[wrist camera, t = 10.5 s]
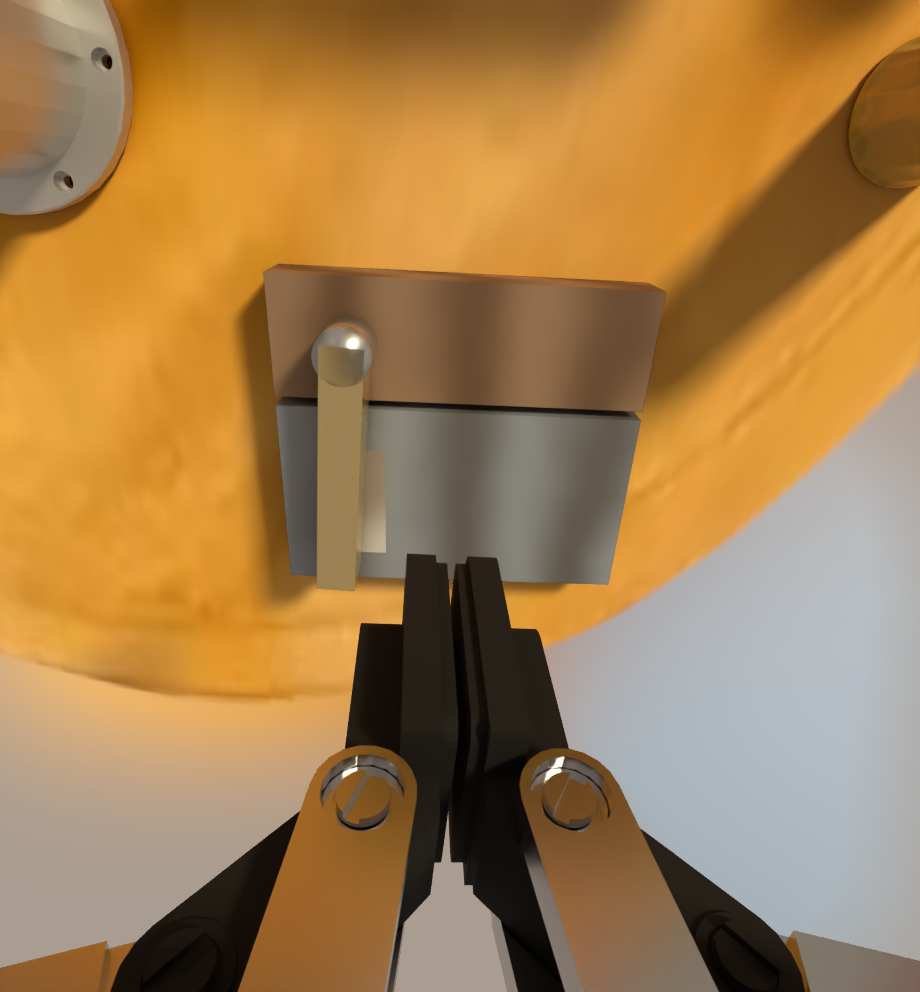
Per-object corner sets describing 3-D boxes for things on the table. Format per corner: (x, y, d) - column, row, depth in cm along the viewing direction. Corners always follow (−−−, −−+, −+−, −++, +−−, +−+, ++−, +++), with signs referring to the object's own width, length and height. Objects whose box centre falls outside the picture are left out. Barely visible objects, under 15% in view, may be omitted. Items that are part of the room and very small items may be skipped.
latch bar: (323, 312, 29) (311, 325, 26) (379, 318, 29) (371, 332, 26) (321, 556, 35) (311, 587, 32) (366, 560, 35) (360, 591, 33)
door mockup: (301, 547, 39) (290, 575, 36) (278, 263, 31) (262, 271, 28) (597, 557, 40) (608, 585, 37) (647, 282, 32) (666, 292, 29)
